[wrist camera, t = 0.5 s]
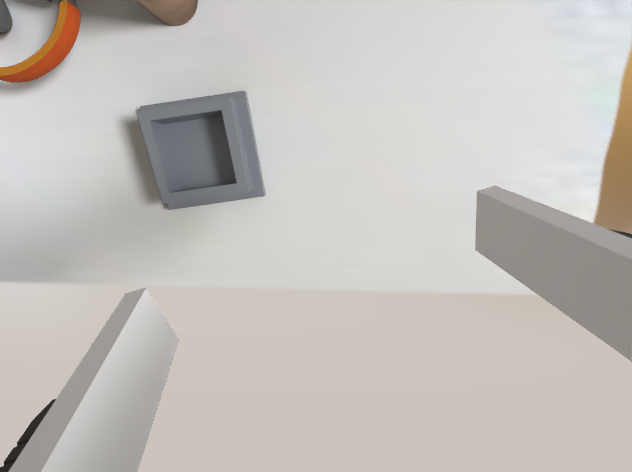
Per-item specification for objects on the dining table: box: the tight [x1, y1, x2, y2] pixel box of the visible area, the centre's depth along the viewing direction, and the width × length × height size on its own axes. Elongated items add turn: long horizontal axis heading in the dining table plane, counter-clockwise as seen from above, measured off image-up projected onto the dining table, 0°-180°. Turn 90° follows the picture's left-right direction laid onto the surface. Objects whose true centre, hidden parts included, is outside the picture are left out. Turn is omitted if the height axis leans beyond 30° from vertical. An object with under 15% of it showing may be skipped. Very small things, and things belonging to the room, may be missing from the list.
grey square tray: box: [136, 91, 265, 210], centre depth 31 cm, size 11×11×4 cm
